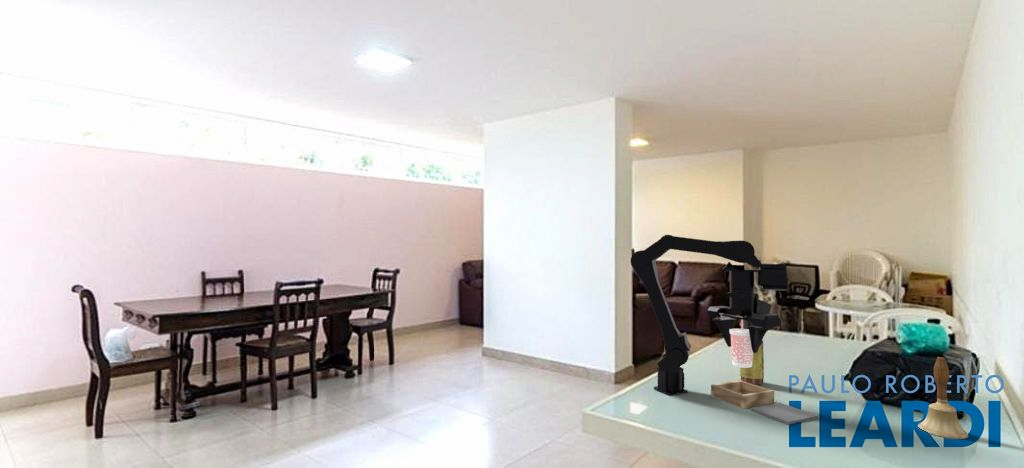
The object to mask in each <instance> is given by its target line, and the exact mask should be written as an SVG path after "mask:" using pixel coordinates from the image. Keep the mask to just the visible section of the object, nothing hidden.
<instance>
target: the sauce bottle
mask: <svg viewBox="0 0 1024 468" xmlns="http://www.w3.org/2000/svg"><path fill="white" fill-rule="evenodd" d="M748 326H754V325H753V324H752V322H751V321H747V320H743V329H749V328H748ZM764 354H765V353H764V340H763V339H762V342H761V344H760V347H759V349H758V352H757V353H753V360H752V367H750V368H742V367H739V376H740V380H741V381H744V382H747V383H751V384H754V385H757V386H760V385H763V384H764V378H765V368H764V367H765V364H764V361H765V360H764V359H765V358H764V356H765V355H764Z"/></svg>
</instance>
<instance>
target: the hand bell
mask: <svg viewBox="0 0 1024 468" xmlns="http://www.w3.org/2000/svg"><path fill="white" fill-rule="evenodd" d="M933 377H934V381H935V383H936V390H937V391H936V402H934V403H930V404H929V405H928V410H927V414H926V417H925V419H924V420H922V422H919V423H918V425H917V428H918V427H919V428H920V429H922V430H924V431H926V432H928V433H929V434H928V433H927V434H928V435H931V436H935V437H940V438H944V439H951V440H965V439H967V438H969V433H968V432H967V431H966V430H965V429H963V427H962V426H961V423H960V421H959V419H958V414H957V410H956V408H955V407H954V406H952V405H950V404H949V402H948V391H947V387H948V383H949V379H950V369H949V366H948V363H947V361H946V358H945V357H944V356H943V357H942V356H937V358H936V360H935V363H934V366H933ZM919 428H918V429H919ZM920 429H919V430H920ZM922 430H921V431H922ZM924 431H923V432H924ZM926 432H925V433H926Z"/></svg>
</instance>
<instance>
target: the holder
mask: <svg viewBox="0 0 1024 468" xmlns="http://www.w3.org/2000/svg"><path fill="white" fill-rule="evenodd" d="M710 390H711V391H710V397H713V398H714V399H718V400H719V401H723V402H726V403H729V404H731V405H734V406H737V407H738V408H739V407H740V408H742V409H749V408H754V407H759V406H765V405H770V404H775V390H772V389H769V388H766V387H763V386H760V385H754V384H751V383H747V382H744V381H741V379H740V380H732V381H727V382H720V383H712V384H710Z"/></svg>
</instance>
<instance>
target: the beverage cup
mask: <svg viewBox="0 0 1024 468" xmlns="http://www.w3.org/2000/svg"><path fill="white" fill-rule="evenodd" d="M743 326H744V320H741V319H740V328H733V329H729V331H730V332H729V333H730V334H731V362H732V366H734V367H736V368H740V367H742V368H750V367H752V360H753V351H752V347H751V341H750V334H749V329H744V327H743Z"/></svg>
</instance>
